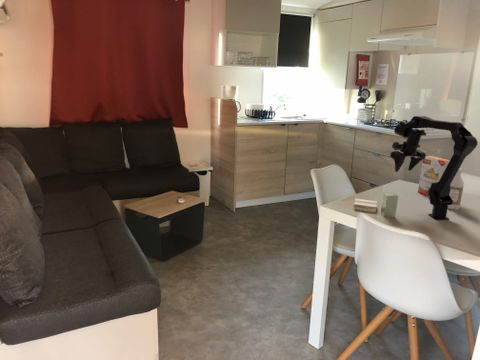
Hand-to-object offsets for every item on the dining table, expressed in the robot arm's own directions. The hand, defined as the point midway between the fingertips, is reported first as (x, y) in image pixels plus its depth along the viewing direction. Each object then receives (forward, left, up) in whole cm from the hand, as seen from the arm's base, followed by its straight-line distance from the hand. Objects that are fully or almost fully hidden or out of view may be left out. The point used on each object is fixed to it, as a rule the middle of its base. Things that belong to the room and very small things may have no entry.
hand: (402, 171), depth 200 cm
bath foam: (-6, -24, -17) cm, 30 cm away
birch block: (-9, +21, -17) cm, 28 cm away
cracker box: (+15, -25, -17) cm, 34 cm away
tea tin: (-19, +14, -17) cm, 29 cm away
